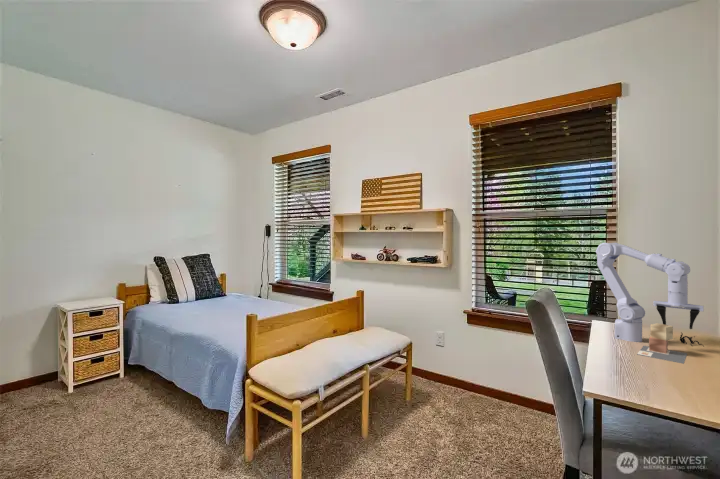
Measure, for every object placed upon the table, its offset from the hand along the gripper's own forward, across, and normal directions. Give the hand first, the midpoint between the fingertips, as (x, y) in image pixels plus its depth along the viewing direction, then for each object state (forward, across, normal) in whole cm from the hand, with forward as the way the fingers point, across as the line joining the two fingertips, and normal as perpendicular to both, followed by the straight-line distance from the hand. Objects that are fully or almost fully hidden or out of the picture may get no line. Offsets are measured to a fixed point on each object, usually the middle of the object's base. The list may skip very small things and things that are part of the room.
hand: (677, 326), depth 136 cm
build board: (+10, -4, -11) cm, 15 cm away
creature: (+10, +3, +14) cm, 18 cm away
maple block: (+4, -4, -6) cm, 9 cm away
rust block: (+9, -5, -7) cm, 13 cm away
